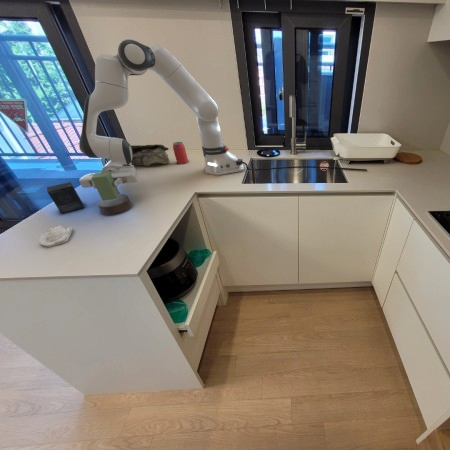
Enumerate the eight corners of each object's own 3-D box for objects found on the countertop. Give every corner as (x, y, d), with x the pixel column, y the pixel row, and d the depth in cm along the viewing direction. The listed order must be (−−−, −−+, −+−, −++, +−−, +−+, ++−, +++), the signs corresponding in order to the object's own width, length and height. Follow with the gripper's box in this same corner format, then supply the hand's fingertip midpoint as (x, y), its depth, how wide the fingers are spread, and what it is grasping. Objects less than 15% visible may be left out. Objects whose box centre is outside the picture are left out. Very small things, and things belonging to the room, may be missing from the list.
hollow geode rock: (124, 174, 148) (110, 162, 134) (123, 155, 150) (109, 142, 136) (173, 168, 154) (165, 157, 140) (171, 150, 156) (162, 137, 142)
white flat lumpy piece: (76, 224, 86) (43, 239, 78) (82, 234, 88) (51, 250, 81) (60, 218, 89) (26, 232, 82) (66, 228, 92) (34, 242, 84)
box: (83, 203, 108) (70, 181, 102) (84, 208, 104) (72, 185, 98) (60, 209, 103) (46, 186, 97) (61, 214, 100) (46, 191, 94)
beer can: (190, 160, 155) (185, 141, 149) (185, 164, 150) (180, 144, 143) (180, 160, 156) (175, 141, 149) (175, 163, 151) (169, 144, 144)
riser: (134, 201, 110) (131, 193, 108) (129, 212, 101) (125, 204, 99) (106, 204, 107) (102, 196, 105) (98, 217, 98) (93, 208, 96)
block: (119, 193, 104) (109, 171, 98) (116, 198, 100) (106, 176, 94) (106, 195, 102) (95, 173, 97) (102, 200, 98) (91, 177, 93)
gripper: (83, 169, 103) (70, 181, 93) (137, 164, 109) (130, 175, 98) (90, 182, 107) (78, 196, 96) (142, 177, 113) (136, 189, 102)
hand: (105, 185), depth 97 cm, fingers closed on block, 5 cm apart
